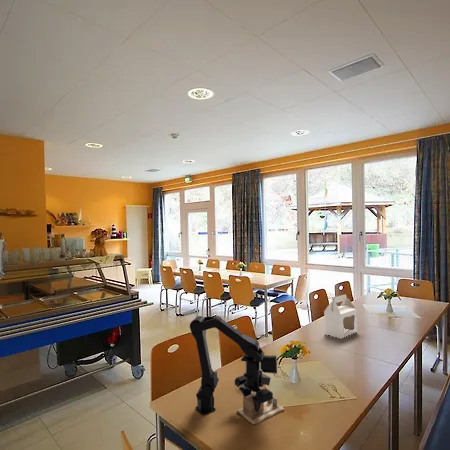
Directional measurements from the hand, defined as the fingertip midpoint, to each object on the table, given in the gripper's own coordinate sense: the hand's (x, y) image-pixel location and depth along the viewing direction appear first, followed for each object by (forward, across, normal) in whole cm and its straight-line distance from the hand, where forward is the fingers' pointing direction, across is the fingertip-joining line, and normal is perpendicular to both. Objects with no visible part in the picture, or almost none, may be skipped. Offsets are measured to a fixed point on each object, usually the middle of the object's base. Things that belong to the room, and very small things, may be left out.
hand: (253, 408), depth 130 cm
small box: (+3, +23, -20) cm, 30 cm away
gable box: (+3, +39, -116) cm, 123 cm away
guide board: (+2, 0, -4) cm, 5 cm away
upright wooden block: (+1, 0, 0) cm, 1 cm away
